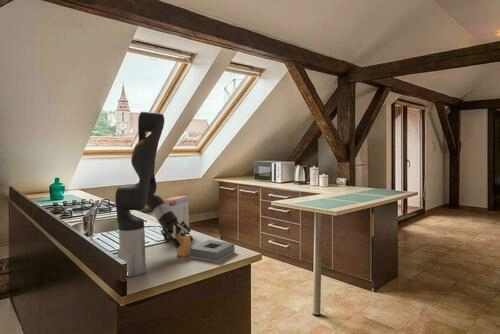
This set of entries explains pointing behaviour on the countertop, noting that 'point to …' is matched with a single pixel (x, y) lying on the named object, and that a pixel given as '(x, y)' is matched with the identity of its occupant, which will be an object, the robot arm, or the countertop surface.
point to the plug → (183, 244)
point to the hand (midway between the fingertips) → (185, 244)
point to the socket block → (212, 250)
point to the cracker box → (179, 208)
